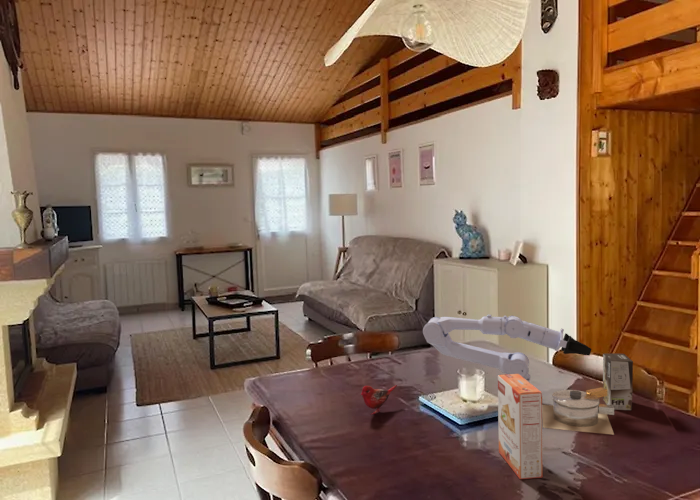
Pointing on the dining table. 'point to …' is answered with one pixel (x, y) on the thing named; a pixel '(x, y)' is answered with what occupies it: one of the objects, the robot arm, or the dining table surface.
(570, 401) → the lid with handle
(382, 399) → the decorative bird figurine
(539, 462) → the cracker box
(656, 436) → the dining table surface
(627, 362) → the coffee box
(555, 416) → the pot
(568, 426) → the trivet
